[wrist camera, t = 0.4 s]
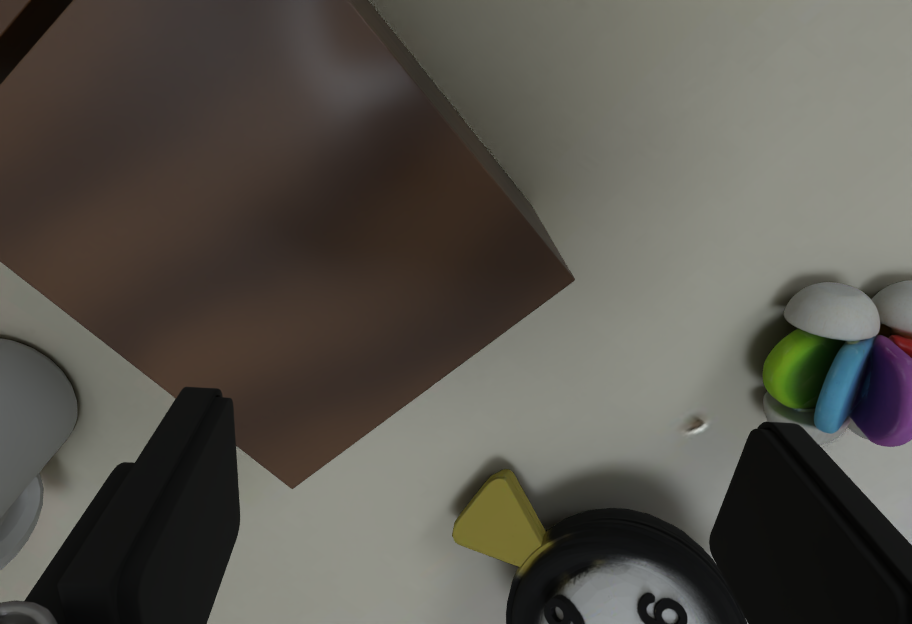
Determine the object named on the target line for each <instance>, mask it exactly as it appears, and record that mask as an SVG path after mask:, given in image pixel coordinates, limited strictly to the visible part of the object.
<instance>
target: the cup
mask: <svg viewBox="0 0 912 624" xmlns="http://www.w3.org/2000/svg"><path fill="white" fill-rule="evenodd" d="M76 420H77V400H76V396H75V394H74V391H73V388H72V385H71V383H70V382H69V380H68V379H67V377H66V376H65V374H64V373H63V371H62V370H61V369H60V368H59V367H58V366H57V365H56V364H55V363H53V362H52V361H51V360H50V359H49V358H48V357H46V356H45V355H43V354H41V353H40V352H38V351H36V350H35V349H33V348H31V347H29V346H26V345H24V344H21V343H18V342H16V341H13V340H7V339H1V338H0V570H1V569H3V568H4V567H5V566H6V565H7V564H8V563H9V562H10V561H11V560H12V559H13V558H14V557H15V556H16V555H17V554H18V553H19V551H20V550H21V549H22V547H23V546H24V545H25V543H26V542H27V541H28V539H29V537H30V535H31V533H32V531H33V530H34V528H35V526H36V524H37V521H38V518H39V515H40V512H41V509H42V506H43V484H42V480H41V476H40V473H39V472H40V471H41V469H42V468H43V467H44V466H45V465H46V463H47V462H48V461H49V460H50V459H51V457H52V456H53V455H54V454H55V453H56V452H57V450H58V449H59V448H60V447H61V446H62V444H63V443H64V442H65V441H66V440H67V438H68V437H69V435H70V434H71V432H72V431H73V429H74V426H75V423H76Z"/></svg>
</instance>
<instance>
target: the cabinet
mask: <svg viewBox="0 0 912 624" xmlns="http://www.w3.org/2000/svg"><path fill="white" fill-rule="evenodd" d="M0 262H2V263H3V264H4V265H6V266H7V267H8V268H9V269H11V270H12V271H13V272H14V273H16V274H17V275H18V276H20V277H21V278H22V279H23V280H25V281H26V282H27V283H29V284H30V285H31V286H32V287H34V288H35V289H36V290H38V291H39V292H40V293H41V294H43V295H44V296H45V297H47V298H48V299H49V300H50V301H52V302H53V303H54V304H55V305H57V306H58V307H59V308H61V309H62V310H63V311H64V312H66V313H67V314H68V315H70V316H71V317H72V318H73V319H75V320H76V321H77V322H79V323H80V324H81V325H82V326H84V327H85V328H86V329H88V330H89V331H90V332H91V333H93V334H94V335H95V336H96V337H98V338H99V339H100V340H102V341H103V342H104V343H105V344H107V345H108V346H109V347H111V348H112V349H113V350H114V351H116V352H117V353H118V354H120V355H121V356H122V357H123V358H125V359H126V360H127V361H129V362H130V363H131V364H132V365H134V366H135V367H136V368H138V369H139V370H140V371H141V372H143V373H144V374H145V375H146V376H148V377H149V378H150V379H152V380H153V381H154V382H155V383H157V384H158V385H159V386H161V387H162V388H163V389H164V390H166V391H167V392H168V393H170V394H171V395H172V396H173V397H175V398H177V396H178V395H179V393H180V392H181V390H182V389H183V388H184V387H201V388H217V389H220V390H221V392H222V396H223V397H225V398H231V399H232V401H233V407H234V423H235V440H236V446H237V447H239V448H240V449H241V450H243V451H244V452H245V453H246V454H248V455H249V456H250V457H252V458H253V459H254V460H255V461H257V462H258V463H259V464H261V465H262V466H263V467H264V468H266V469H267V470H268V471H270V472H271V473H272V474H273V475H275V476H276V477H277V478H278V479H280V480H281V481H282V482H284V483H285V484H286V485H287V486H289V487H290V488H291V489H293V488H295V487H296V486H297V485H299V484H300V483H301V482H303V481H304V480H305V479H307V478H308V477H309V476H311V475H312V474H313V473H315V472H316V471H318V470H319V469H320V468H322V467H323V466H324V465H326V464H327V463H328V462H330V461H331V460H332V459H334V458H335V457H336V456H338V455H339V454H341V453H342V452H343V451H345V450H346V449H347V448H349V447H350V446H351V445H353V444H354V443H355V442H357V441H358V440H359V439H361V438H362V437H364V436H365V435H366V434H368V433H369V432H370V431H372V430H373V429H374V428H376V427H377V426H378V425H380V424H381V423H382V422H384V421H385V420H387V419H388V418H389V417H391V416H392V415H393V414H395V413H396V412H397V411H399V410H400V409H401V408H403V407H404V406H405V405H407V404H408V403H409V402H411V401H412V400H414V399H415V398H416V397H418V396H419V395H420V394H422V393H423V392H424V391H426V390H427V389H428V388H430V387H431V386H432V385H434V384H435V383H437V382H438V381H439V380H441V379H442V378H443V377H445V376H446V375H447V374H449V373H450V372H451V371H453V370H454V369H455V368H457V367H458V366H460V365H461V364H462V363H464V362H465V361H466V360H468V359H469V358H470V357H472V356H473V355H474V354H476V353H477V352H478V351H480V350H481V349H483V348H484V347H485V346H487V345H488V344H489V343H491V342H492V341H493V340H495V339H496V338H497V337H499V336H500V335H501V334H503V333H504V332H506V331H507V330H508V329H510V328H511V327H512V326H514V325H515V324H516V323H518V322H519V321H520V320H522V319H523V318H524V317H526V316H527V315H529V314H530V313H531V312H533V311H534V310H535V309H537V308H538V307H539V306H541V305H542V304H543V303H545V302H546V301H547V300H549V299H550V298H552V297H553V296H554V295H556V294H557V293H558V292H560V291H561V290H562V289H564V288H565V287H566V286H568V285H569V284H570V283H572V282H573V281H574V280H575V278H574V277H573V275H572V273H571V272H570V270H569V268H568V267H567V265H566V263H565V262H564V260H563V258H562V256H561V255H560V253H559V251H558V250H557V248H556V246H555V244H554V243H553V241H552V239H551V238H550V236H549V234H548V232H547V231H546V229H545V227H544V226H543V224H542V222H541V220H540V219H539V217H538V215H537V214H536V212H535V210H534V208H533V207H532V205H531V204H530V203H529V202H528V200H527V199H526V198H525V197H524V195H523V194H522V193H521V192H520V190H519V189H518V188H517V187H516V185H515V184H514V183H513V182H512V180H511V179H510V178H509V177H508V175H507V174H506V173H505V171H504V170H503V169H502V168H501V166H500V165H499V164H498V163H497V161H496V160H495V159H494V158H493V156H492V155H491V154H490V153H489V151H488V150H487V149H486V148H485V146H484V145H483V144H482V143H481V141H480V140H479V139H478V138H477V136H476V135H475V134H474V133H473V131H472V130H471V129H470V128H469V126H468V125H467V124H466V123H465V121H464V120H463V119H462V118H461V116H460V115H459V114H458V112H457V111H456V110H455V109H454V107H453V106H452V105H451V104H450V102H449V101H448V100H447V99H446V97H445V96H444V95H443V94H442V92H441V91H440V90H439V89H438V87H437V86H436V85H435V84H434V82H433V81H432V80H431V79H430V77H429V76H428V75H427V74H426V72H425V71H424V70H423V69H422V67H421V66H420V65H419V64H418V62H417V61H416V60H415V58H414V57H413V56H412V55H411V53H410V52H409V51H408V50H407V48H406V47H405V46H404V45H403V43H402V42H401V41H400V40H399V38H398V37H397V36H396V35H395V33H394V32H393V31H392V30H391V28H390V27H389V26H388V25H387V23H386V22H385V21H384V20H383V18H382V17H381V16H380V15H379V13H378V12H377V11H376V10H375V8H374V7H373V6H372V5H371V3H370V2H369V1H368V0H73V1H72V2H71V3H70V4H69V5H68V7H67V8H66V9H65V10H64V11H63V12H62V14H61V15H60V16H59V17H58V18H57V19H56V20H55V22H54V23H53V24H52V25H51V26H50V27H49V29H48V30H47V31H46V32H45V33H44V34H43V36H42V37H41V38H40V39H39V40H38V41H37V43H36V44H35V45H34V46H33V47H32V48H31V49H30V51H29V52H28V53H27V54H26V55H25V56H24V58H23V59H22V60H21V61H20V62H19V63H18V65H17V66H16V67H15V68H14V69H13V70H12V71H11V73H10V74H9V75H8V76H7V77H6V78H5V80H4V81H3V82H2V83H1V84H0Z"/></svg>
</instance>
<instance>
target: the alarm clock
mask: <svg viewBox="0 0 912 624" xmlns="http://www.w3.org/2000/svg"><path fill="white" fill-rule="evenodd" d="M452 536H453V538H454V541H455V542H456V543H457V544H459V545H461V546H464V547H466V548H469V549H472V550H474V551H477V552H480V553H483V554H486V555H488V556H491V557H493V558H496V559H499V560H501V561H504V562H507V563H510V564H512V565H515V566H518V569H517V571H516V574H515V576H514V578H513V581H512V585H511V589H510V593H509V597H508V601H507V610H506V624H747V621H746V618H745V616H744V614H743V612H742V611H741V609H740V607H739V605H738V603H737V601H736V599H735V598H734V596H733V594H732V592H731V590H730V588H729V586H728V585H727V583H726V581H725V579H724V577H723V575H722V573H721V571H720V570H719V568H718V566H717V565H716V563H715V562H714V560H713V559H712V558H711V557H710V556H709V555H708V554H707V552H706V551H705V550H704V549H703V548H702V547H701V546H699V545H698V544H697V543H696V542H695V541H694V540H693V539H691V538H690V537H689V536H688V535H687V534H686V533H684V532H683V531H682V530H680V529H678V528H677V527H675V526H674V525H672V524H670V523H667V522H665V521H663V520H661V519H659V518H657V517H654V516H652V515H650V514H647V513H643V512H638V511H634V510H630V509H617V508H607V509H599V510H590V511H586V512H583V513H580V514H577V515H574V516H572V517H569V518H567V519H565V520H563V521H562V522H560V523H558V524H556V525H555V526H554V527H552V528H551V529H549V530H548V531H545V529H544V527H543V525H542V524H541V522H540V520H539V519H538V517H537V514H536V513H535V511H534V509H533V507H532V505H531V504H530V502H529V500H528V498H527V496H526V495H525V493H524V491H523V489H522V487H521V486H520V484H519V482H518V480H517V478H516V477H515V475H514V473H513V472H512V471H511V470H508V469H504V470H501V471H499V472H498V473H495V474H494V475H492V476H491V477H490V478H489V479H488V480H487V481H486V482H485V483H484V485H483V486H482V487H481V488H480V490H479V491H478V492H477V493H476V495H475V496H474V497H473V498H472V500H471V501H470V502H469V504H468V505H467V506H466V507H465V509H464V510H463V511H462V512H461V514H460V515H459V517H458V518H457V520H456V521H455V523H454V528H453V534H452Z"/></svg>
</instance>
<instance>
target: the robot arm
mask: <svg viewBox="0 0 912 624" xmlns="http://www.w3.org/2000/svg"><path fill="white" fill-rule="evenodd" d="M239 525H240V505H239V489H238V472H237V456H236V440H235V423H234V407H233V401H232V399H231V398H225V397H223V396H222V392H221V390H220V389H217V388H201V387H184V388H183V389H182V390H181V392H180V393H179V395H178V396H177V398H176V399H175V401H174V402H173V404H172V406H171V407H170V409H169V410H168V412H167V413H166V415H165V417H164V418H163V420H162V421H161V423H160V424H159V426H158V427H157V429H156V431H155V432H154V434H153V435H152V437H151V438H150V440H149V442H148V443H147V445H146V446H145V448H144V449H143V451H142V452H141V454H140V456H139V457H138V459H137V460H136V462H135V463H127V462H123V463H121V464H119V465H117V467H116V468H115V469H114V470H113V471H112V472H111V474H110V475H109V477H108V478H107V480H106V481H105V483H104V484H103V486H102V487H101V489H100V490H99V492H98V493H97V495H96V496H95V497H94V499H93V500H92V502H91V503H90V505H89V506H88V508H87V509H86V511H85V512H84V514H83V515H82V517H81V518H80V520H79V521H78V523H77V524H76V526H75V527H74V528H73V530H72V531H71V533H70V534H69V536H68V537H67V539H66V540H65V542H64V543H63V545H62V546H61V548H60V549H59V551H58V552H57V554H56V555H55V557H54V558H53V559H52V561H51V562H50V564H49V565H48V567H47V568H46V570H45V571H44V573H43V574H42V576H41V577H40V579H39V580H38V582H37V583H36V585H35V586H34V588H33V589H32V590H31V592H30V593H29V595H28V596H27V598H26V599H25V601H9V602H2V603H0V624H207V621H208V618H209V615H210V612H211V610H212V607H213V604H214V601H215V598H216V595H217V593H218V590H219V587H220V584H221V581H222V578H223V576H224V573H225V570H226V567H227V564H228V561H229V559H230V556H231V553H232V550H233V547H234V544H235V542H236V539H237V535H238V531H239ZM709 544H710V551H711V554H712V556H713V558H714V560H715V562H716V564H717V566H718V568H719V570H720V571H721V573H722V575H723V577H724V579H725V581H726V583H727V585H728V586H729V588H730V590H731V592H732V594H733V596H734V598H735V599H736V601H737V603H738V605H739V607H740V609H741V611H742V612H743V614H744V616H745V618H746V620H747V622H748V624H912V545H911V544H910V543H909V542H908V541H907V540H906V539H905V538H904V537H903V535H902V534H901V533H900V532H899V531H898V530H897V529H896V528H895V527H894V526H893V525H892V524H891V523H890V521H889V520H888V519H887V518H886V517H885V516H884V515H883V514H882V513H881V512H880V511H879V510H878V508H877V507H876V506H875V505H874V504H873V503H872V502H871V501H870V500H869V499H868V498H867V497H866V495H865V494H864V493H863V492H862V491H861V490H860V489H859V488H858V487H857V486H856V485H855V484H854V482H853V481H852V480H851V479H850V478H849V477H848V476H847V475H846V474H845V473H844V472H843V471H842V470H841V468H840V467H839V466H838V465H837V464H836V463H835V462H834V461H833V460H832V459H831V458H830V457H829V455H828V454H827V453H826V452H825V451H824V450H823V449H822V448H821V447H820V446H819V445H818V444H817V442H816V441H815V440H814V439H813V438H812V437H811V436H810V435H809V434H808V433H807V432H806V431H805V429H804V428H803V427H801V426H800V425H799V424H795V423H783V422H763V423H762V424H761V425H759V427H758V429H754V430H752V431H751V432H750V434H749V436H748V439H747V441H746V444H745V446H744V449H743V452H742V454H741V457H740V459H739V462H738V464H737V467H736V470H735V472H734V475H733V477H732V480H731V483H730V485H729V488H728V490H727V493H726V495H725V498H724V501H723V503H722V506H721V508H720V511H719V514H718V516H717V519H716V521H715V524H714V527H713V529H712V532H711V535H710V540H709Z"/></svg>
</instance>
